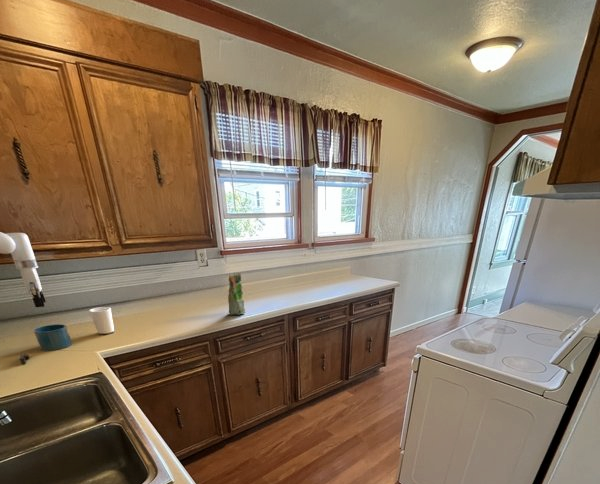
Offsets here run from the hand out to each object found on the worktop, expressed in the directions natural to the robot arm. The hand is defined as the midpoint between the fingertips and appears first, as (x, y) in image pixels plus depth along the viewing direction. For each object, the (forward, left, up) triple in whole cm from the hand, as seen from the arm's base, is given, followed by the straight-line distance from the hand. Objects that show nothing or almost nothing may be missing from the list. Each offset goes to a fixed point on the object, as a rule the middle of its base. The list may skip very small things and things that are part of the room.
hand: (41, 304), depth 146 cm
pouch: (+96, +8, -20) cm, 99 cm away
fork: (-11, -14, -20) cm, 27 cm away
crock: (0, 0, -20) cm, 20 cm away
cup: (+22, +10, -20) cm, 32 cm away
